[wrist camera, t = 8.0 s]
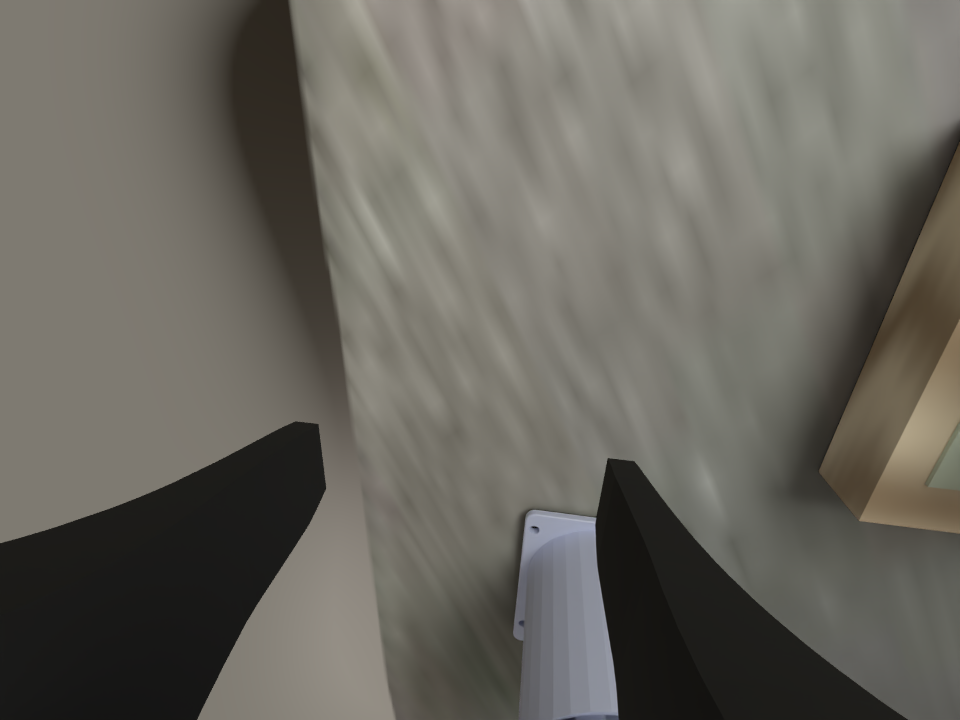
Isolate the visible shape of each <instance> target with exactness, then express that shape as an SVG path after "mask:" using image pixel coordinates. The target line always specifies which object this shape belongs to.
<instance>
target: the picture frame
mask: <svg viewBox="0 0 960 720" xmlns="http://www.w3.org/2000/svg"><path fill="white" fill-rule="evenodd" d="M818 472H819V473H820V474H821V476H822V477H823V478H824V479H825V480H826V482H827V483H828V484H829V485H830V486H831V488H832V489H833V490H834V491H835V493H836V494H837V495H838V496H839V497H840V499H841V500H842V501H843V502H844V504H845V505H846V506H847V507H848V508H849V510H850V511H851V512H852V513H853V514H854V516H855V517H856V518H857V519H858V521H864V522H872V523H880V524H888V525H896V526H904V527H912V528H920V529H928V530H936V531H944V532H952V533H960V142H959V145H958V147H957V149H956V152H955V154H954V156H953V159H952V161H951V163H950V166H949V168H948V170H947V173H946V175H945V177H944V180H943V182H942V184H941V187H940V189H939V191H938V194H937V196H936V198H935V201H934V203H933V205H932V208H931V210H930V212H929V215H928V217H927V219H926V222H925V224H924V226H923V229H922V231H921V233H920V236H919V238H918V240H917V243H916V245H915V247H914V250H913V252H912V254H911V257H910V259H909V261H908V264H907V266H906V268H905V271H904V273H903V275H902V278H901V280H900V282H899V285H898V287H897V289H896V292H895V294H894V296H893V299H892V301H891V303H890V306H889V308H888V310H887V313H886V315H885V317H884V320H883V322H882V324H881V327H880V329H879V331H878V334H877V336H876V338H875V341H874V343H873V345H872V348H871V350H870V352H869V355H868V357H867V359H866V362H865V364H864V366H863V369H862V371H861V373H860V376H859V378H858V380H857V383H856V385H855V387H854V390H853V392H852V394H851V397H850V399H849V401H848V404H847V406H846V408H845V411H844V413H843V415H842V418H841V420H840V422H839V425H838V427H837V429H836V432H835V434H834V436H833V439H832V441H831V443H830V446H829V448H828V450H827V453H826V455H825V457H824V460H823V462H822V464H821V467H820V469H819V471H818Z"/></svg>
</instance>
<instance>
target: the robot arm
mask: <svg viewBox="0 0 960 720" xmlns="http://www.w3.org/2000/svg"><path fill="white" fill-rule="evenodd" d="M325 490H326V483H325V475H324V467H323V459H322V450H321V443H320V434H319V426H318V424H313V423H304V422H293V423H291V424H289V425H287V426H284V427H282V428H280V429H278V430H276V431H274V432H272V433H271V434H269V435H267V436H265V437H263V438H261V439H259V440H257V441H255V442H253V443H252V444H250V445H248V446H246V447H244V448H242V449H240V450H238V451H236V452H235V453H233V454H231V455H229V456H227V457H225V458H223V459H221V460H219V461H217V462H215V463H213V464H211V465H209V466H207V467H205V468H203V469H201V470H199V471H197V472H194V473H192V474H190V475H189V476H186V477H184V478H182V479H180V480H178V481H176V482H174V483H172V484H169V485H167V486H165V487H163V488H160V489H158V490H156V491H153V492H151V493H149V494H146V495H144V496H141V497H139V498H136V499H134V500H131V501H129V502H126V503H124V504H121V505H119V506H116V507H113V508H110V509H108V510H105V511H102V512H99V513H96V514H93V515H90V516H87V517H84V518H81V519H78V520H75V521H73V522H70V523H67V524H64V525H61V526H58V527H55V528H52V529H49V530H45V531H42V532H39V533H35V534H32V535H28V536H25V537H22V538H18V539H15V540H11V541H7V542H4V543H0V720H197V719H198V716H199V714H200V712H201V710H202V708H203V706H204V704H205V702H206V700H207V698H208V696H209V694H210V692H211V690H212V688H213V686H214V684H215V682H216V680H217V678H218V676H219V674H220V672H221V670H222V668H223V666H224V664H225V662H226V660H227V658H228V656H229V654H230V652H231V650H232V649H233V647H234V645H235V643H236V641H237V639H238V637H239V635H240V633H241V631H242V629H243V628H244V626H245V624H246V622H247V620H248V619H249V617H250V615H251V614H252V612H253V610H254V609H255V607H256V605H257V604H258V602H259V601H260V599H261V598H262V596H263V595H264V593H265V592H266V590H267V588H268V587H269V585H270V584H271V582H272V580H273V579H274V578H275V576H276V575H277V573H278V572H279V570H280V569H281V567H282V566H283V564H284V562H285V561H286V559H287V558H288V556H289V554H290V553H291V552H292V550H293V549H294V547H295V546H296V544H297V542H298V541H299V539H300V538H301V536H302V535H303V533H304V532H305V530H306V528H307V526H308V525H309V524H310V521H311V519H312V517H313V515H314V513H315V511H316V509H317V507H318V505H319V503H320V501H321V499H322V496H323V494H324V492H325ZM532 526H536V527H538V528H532ZM513 636H514V637H515V638H516V639H518V640H521V641H523V654H522V670H521V687H520V704H519V720H908V719H906V718H905V717H903V716H902V715H900V714H899V713H897V712H896V711H894V710H893V709H891V708H890V707H888V706H887V705H885V704H884V703H883V702H881V701H880V700H878V699H877V698H876V697H874V696H873V695H872V694H870V693H869V692H867V691H866V690H865V689H863V688H862V687H861V686H859V685H858V684H857V683H855V682H854V681H853V680H851V679H850V678H849V677H847V676H846V675H845V674H843V673H842V672H841V671H839V670H838V669H836V668H835V667H834V666H833V665H831V664H830V663H829V662H827V661H826V660H825V659H824V658H822V657H821V656H820V655H819V654H817V653H816V652H815V651H813V650H812V649H811V648H810V647H808V646H807V645H806V644H805V643H804V642H802V641H801V640H800V639H799V638H798V637H796V636H795V635H794V634H793V633H792V632H790V631H789V630H788V629H787V628H786V627H785V626H783V625H782V624H781V623H780V622H779V621H777V620H776V619H775V618H774V617H773V616H772V615H770V614H769V613H768V612H767V611H766V610H765V609H764V608H763V607H761V606H760V605H759V604H758V603H757V602H756V601H755V600H754V599H753V598H752V597H751V596H750V595H749V594H748V593H747V592H745V591H744V590H743V589H742V588H741V587H740V586H739V585H738V584H737V583H736V582H735V581H734V580H733V579H732V578H731V577H730V576H729V575H728V574H727V573H726V572H725V571H724V570H723V569H722V568H721V567H720V566H719V565H718V564H717V563H716V562H715V561H714V560H713V559H712V558H711V556H710V555H709V554H708V553H707V552H706V551H705V550H704V549H703V548H702V547H701V545H700V544H699V543H698V542H697V541H696V540H695V539H694V538H693V536H692V535H691V534H690V533H689V532H688V530H687V529H686V528H685V527H684V525H683V524H682V523H681V522H680V521H679V519H678V518H677V517H676V516H675V514H674V513H673V512H672V511H671V509H670V508H669V507H668V506H667V504H666V503H665V502H664V500H663V499H662V498H661V496H660V495H659V494H658V492H657V491H656V490H655V488H654V487H653V486H652V484H651V483H650V482H649V480H648V479H647V477H646V476H645V475H644V473H643V472H642V471H641V469H640V468H639V467H638V465H637V464H636V463H635V462H634V461H627V460H618V459H610V458H608V460H607V465H606V470H605V476H604V481H603V486H602V491H601V497H600V502H599V507H598V512H597V517H596V518H594V517H587V516H579V515H572V514H564V513H556V512H549V511H541V510H531V511H529V512H528V513H527V514H526V517H525V526H524V535H523V544H522V554H521V563H520V572H519V581H518V591H517V600H516V609H515V618H514V628H513Z"/></svg>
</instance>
